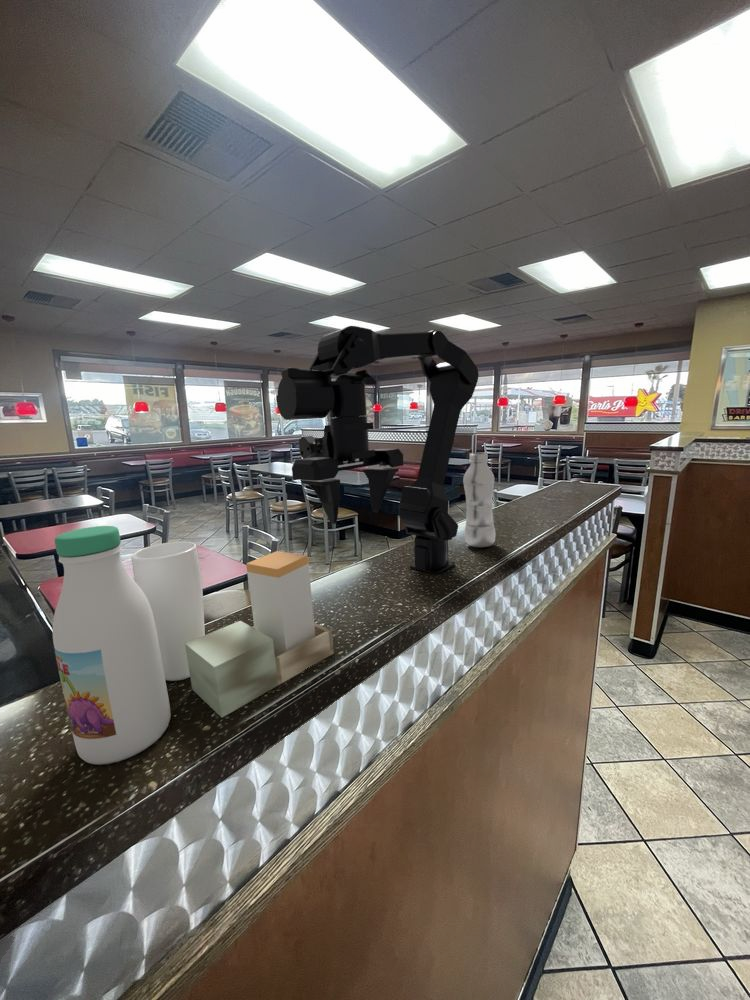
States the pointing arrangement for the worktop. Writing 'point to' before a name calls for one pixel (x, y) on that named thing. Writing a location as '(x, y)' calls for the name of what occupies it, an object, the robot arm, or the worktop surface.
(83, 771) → the worktop surface
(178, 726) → the worktop surface
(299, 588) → the orange-topped white pillar
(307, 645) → the open wooden box
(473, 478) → the plastic bottle
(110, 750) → the milk bottle
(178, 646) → the drinking glass
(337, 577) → the worktop surface
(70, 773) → the worktop surface
